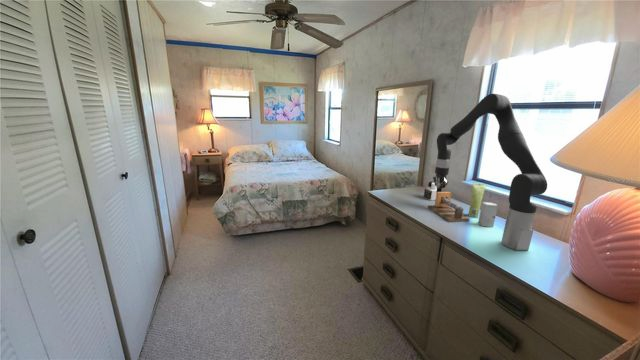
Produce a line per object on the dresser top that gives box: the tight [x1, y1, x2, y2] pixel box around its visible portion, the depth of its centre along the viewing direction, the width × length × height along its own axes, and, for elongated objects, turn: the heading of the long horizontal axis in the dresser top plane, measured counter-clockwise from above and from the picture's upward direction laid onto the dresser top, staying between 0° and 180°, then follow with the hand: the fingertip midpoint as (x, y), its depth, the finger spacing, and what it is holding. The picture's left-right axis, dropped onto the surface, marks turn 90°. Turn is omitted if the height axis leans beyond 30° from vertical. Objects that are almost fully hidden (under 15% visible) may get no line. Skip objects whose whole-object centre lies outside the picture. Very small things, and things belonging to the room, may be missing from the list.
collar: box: [434, 191, 452, 207], centre depth 156 cm, size 2×8×8 cm, turn 97°
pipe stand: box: [427, 197, 470, 223], centre depth 151 cm, size 22×12×9 cm, turn 7°
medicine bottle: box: [423, 181, 437, 201], centre depth 178 cm, size 7×7×12 cm
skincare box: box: [477, 201, 499, 228], centre depth 137 cm, size 6×4×12 cm
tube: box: [467, 183, 487, 218], centre depth 148 cm, size 6×5×20 cm
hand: (438, 193), depth 160 cm, fingers closed
